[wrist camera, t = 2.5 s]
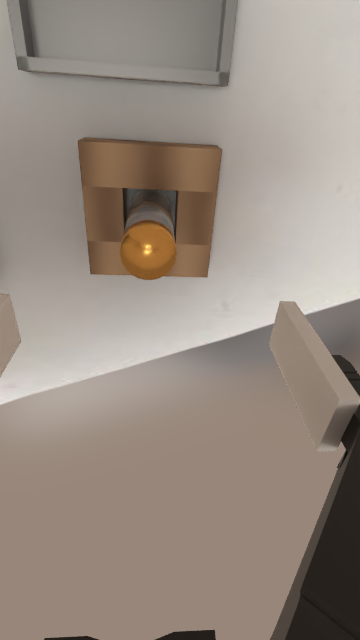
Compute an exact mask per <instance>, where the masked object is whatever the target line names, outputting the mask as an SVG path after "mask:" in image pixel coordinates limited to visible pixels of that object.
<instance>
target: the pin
mask: <svg viewBox="0 0 360 640" xmlns="http://www.w3.org/2000/svg"><path fill="white" fill-rule="evenodd" d="M120 258H121V261H122V264H123V265H124V267H125V268H126V270H127V271H128V272H129V273H131V274H132V275H134V276H135V277H138V278H140V279H145V280H153V279H157V278H160V277H162V276H164V275H166V274H167V273H168V272H169V271H170V270H171V269H172V267H173V266H174V264H175V261H176V245H175V237H174V229H173V222H172V214H171V207H170V202H169V200H168V198H167V196H166V195H165V194H164V193H163V192H162V191H160V190H154V189H142V190H140V191H139V192H138V193H136V195H135V196H134V197H133V199H132V202H131V206H130V210H129V214H128V218H127V222H126V226H125V230H124V234H123V239H122V243H121V247H120Z"/></svg>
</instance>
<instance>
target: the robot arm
mask: <svg viewBox="0 0 360 640" xmlns="http://www.w3.org/2000/svg"><path fill="white" fill-rule="evenodd" d="M20 342H21V338H20V334H19V330H18V326H17V322H16V318H15V314H14V310H13V306H12V302H11V298H10V294H0V377H1V375H2V373H3V372H4V370H5V368H6V366H7V365H8V363H9V361H10V359H11V358H12V356H13V354H14V353H15V351H16V349H17V347H18V346H19V344H20ZM269 346H270V349H271V351H272V353H273V355H274V357H275V360H276V362H277V364H278V366H279V369H280V371H281V373H282V375H283V377H284V380H285V382H286V384H287V386H288V389H289V391H290V393H291V395H292V397H293V400H294V402H295V404H296V406H297V408H298V411H299V413H300V415H301V417H302V420H303V422H304V424H305V426H306V428H307V431H308V433H309V435H310V437H311V439H312V442H313V444H314V446H315V448H316V451H336V450H337V448H338V446H339V444H340V442H341V441H342V443H343V445H344V447H345V448H346V451H345V453H344V455H343V457H342V459H341V461H340V463H339V465H338V467H337V468H338V470H337V473H336V475H335V478H334V481H333V483H332V485H331V488H330V491H329V493H328V496H327V498H326V501H325V503H324V506H323V508H322V511H321V513H320V516H319V519H318V521H317V524H316V526H315V529H314V531H313V534H312V536H311V539H310V541H309V544H308V547H307V549H306V552H305V554H304V557H303V559H302V562H301V564H300V567H299V569H298V572H297V575H296V577H295V579H294V582H293V584H292V587H291V590H290V592H289V595H288V597H287V600H286V602H285V605H284V608H283V610H282V613H281V615H280V618H279V620H278V622H277V625H276V628H275V630H274V632H273V635H272V637H271V639H270V640H360V375H359V374H357V371H356V370H355V368H354V367H353V366H352V364H351V363H350V362H348V361H347V360H346V359H345V358H343V357H342V356H340V355H331V354H330V353H329V351H328V350H327V348H326V347H325V346H324V344H323V342H322V341H321V339H320V338H319V337H318V335H317V334H316V332H315V331H314V329H313V328H312V326H311V325H310V323H309V322H308V321H307V319H306V317H305V316H304V314H303V313H302V311H301V310H300V309H299V307H298V306H297V304H296V303H295V302H289V301H280V303H279V307H278V311H277V315H276V319H275V323H274V327H273V331H272V335H271V339H270V342H269ZM44 640H98V639H95V638H92V637H88V636H82V637H81V636H80V637H60V638H45V639H44ZM156 640H216V639H215V630H205V631H204V630H203V631H183V632H173V633H171V634H168V635H165V636H163V637H161V638H158V639H156Z"/></svg>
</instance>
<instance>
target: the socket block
mask: <svg viewBox="0 0 360 640" xmlns="http://www.w3.org/2000/svg"><path fill="white" fill-rule="evenodd" d="M78 148H79V159H80V169H81V180H82V190H83V200H84V211H85V221H86V232H87V242H88V252H89V263H90V273H91V274H105V275H132V274H131V273H129V272H128V271H127V270H126V268H125V267H124V265H123V264H122V261H121V258H120V247H121V243H122V239H123V234H124V230H125V226H126V197H125V188H134V189H154V190H175V191H176V210H175V230H174V237H175V245H176V261H175V264H174V266H173V267H172V269H171V270H170V271H169V272H168V273H167V274H166V275H164V276H177V277H207V275H208V267H209V258H210V249H211V240H212V232H213V223H214V214H215V205H216V197H217V188H218V179H219V171H220V162H221V153H222V149H220V148H219V147H218V146H215V145H198V144H181V143H165V142H148V141H132V140H115V139H99V138H83V139H81V140H79V141H78Z"/></svg>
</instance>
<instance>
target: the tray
mask: <svg viewBox="0 0 360 640" xmlns="http://www.w3.org/2000/svg"><path fill="white" fill-rule="evenodd" d="M237 2H238V0H7V5H8V11H9V17H10V23H11V29H12V35H13V41H14V48H15V54H16V60H17V66H18V69H19V70H23V71H28V72H38V73H52V74H65V75H78V76H92V77H105V78H118V79H131V80H145V81H158V82H171V83H185V84H198V85H211V86H227V85H228V82H229V73H230V64H231V55H232V47H233V38H234V29H235V20H236V11H237Z"/></svg>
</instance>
